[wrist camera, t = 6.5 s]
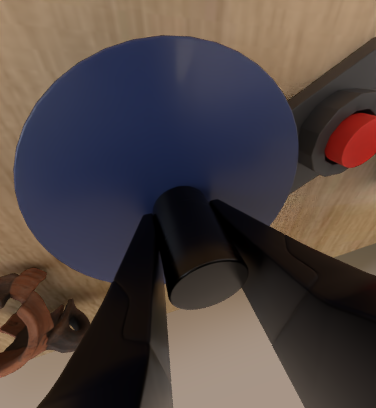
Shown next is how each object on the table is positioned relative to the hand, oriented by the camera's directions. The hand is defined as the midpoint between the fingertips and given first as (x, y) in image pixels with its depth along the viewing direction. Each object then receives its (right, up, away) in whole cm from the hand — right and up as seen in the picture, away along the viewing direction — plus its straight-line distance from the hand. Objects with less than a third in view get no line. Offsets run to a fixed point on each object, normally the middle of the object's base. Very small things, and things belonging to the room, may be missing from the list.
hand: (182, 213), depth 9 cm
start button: (+14, +6, +8) cm, 17 cm away
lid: (0, +1, +1) cm, 1 cm away
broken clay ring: (-17, -10, +13) cm, 23 cm away
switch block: (+13, +8, +10) cm, 18 cm away
